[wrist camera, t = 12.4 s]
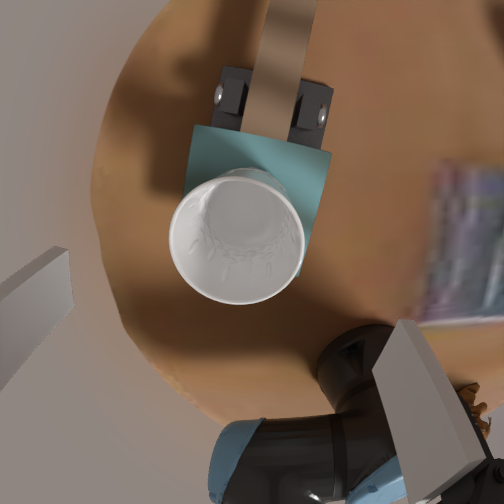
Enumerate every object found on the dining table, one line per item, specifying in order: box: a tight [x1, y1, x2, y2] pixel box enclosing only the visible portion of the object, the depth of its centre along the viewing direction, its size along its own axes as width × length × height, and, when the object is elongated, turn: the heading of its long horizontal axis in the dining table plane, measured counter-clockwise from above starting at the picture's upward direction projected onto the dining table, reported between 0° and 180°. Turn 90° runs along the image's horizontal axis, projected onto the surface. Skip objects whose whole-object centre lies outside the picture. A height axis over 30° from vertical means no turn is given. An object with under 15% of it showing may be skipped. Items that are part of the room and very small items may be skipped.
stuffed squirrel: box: [457, 384, 491, 440], centre depth 40 cm, size 10×14×13 cm
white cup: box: [169, 167, 305, 305], centre depth 22 cm, size 8×8×10 cm
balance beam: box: [182, 0, 332, 277], centre depth 21 cm, size 33×12×6 cm, turn 168°
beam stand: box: [210, 66, 334, 149], centre depth 26 cm, size 8×12×8 cm, turn 78°
